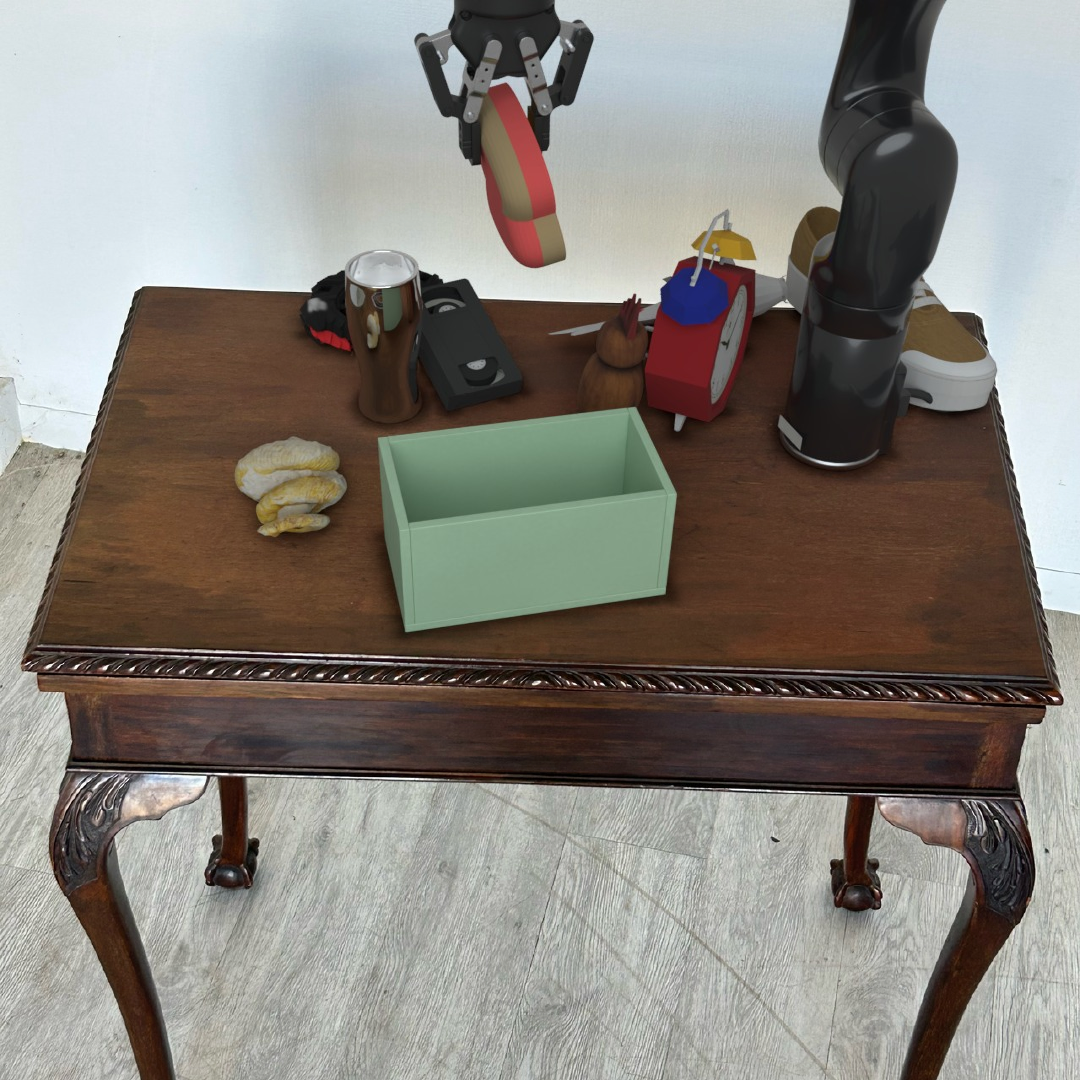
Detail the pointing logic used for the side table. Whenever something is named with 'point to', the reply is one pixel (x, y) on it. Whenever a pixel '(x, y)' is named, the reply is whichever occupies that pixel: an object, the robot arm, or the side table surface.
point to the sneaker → (911, 331)
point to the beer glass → (385, 332)
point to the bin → (525, 517)
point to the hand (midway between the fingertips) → (504, 157)
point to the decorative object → (518, 182)
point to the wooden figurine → (616, 363)
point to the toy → (336, 310)
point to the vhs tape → (464, 348)
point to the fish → (766, 287)
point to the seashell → (291, 484)
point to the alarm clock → (701, 328)
